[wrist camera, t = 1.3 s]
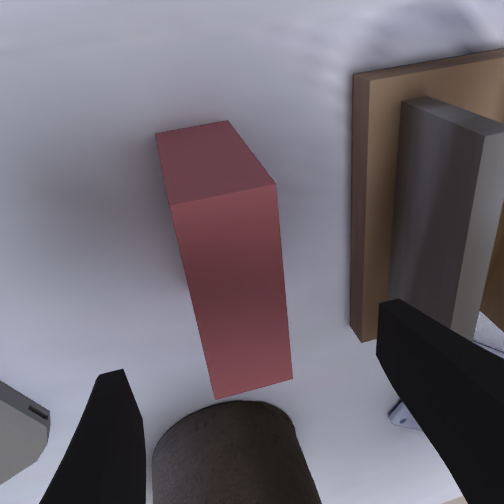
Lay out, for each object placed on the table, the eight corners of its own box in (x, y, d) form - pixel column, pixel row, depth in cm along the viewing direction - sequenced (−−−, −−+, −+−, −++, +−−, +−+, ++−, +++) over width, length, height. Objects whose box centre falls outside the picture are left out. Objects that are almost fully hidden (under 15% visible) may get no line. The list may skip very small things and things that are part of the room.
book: (227, 120, 18) (275, 184, 12) (249, 276, 22) (292, 378, 17) (154, 133, 18) (169, 205, 12) (191, 290, 22) (214, 400, 16)
